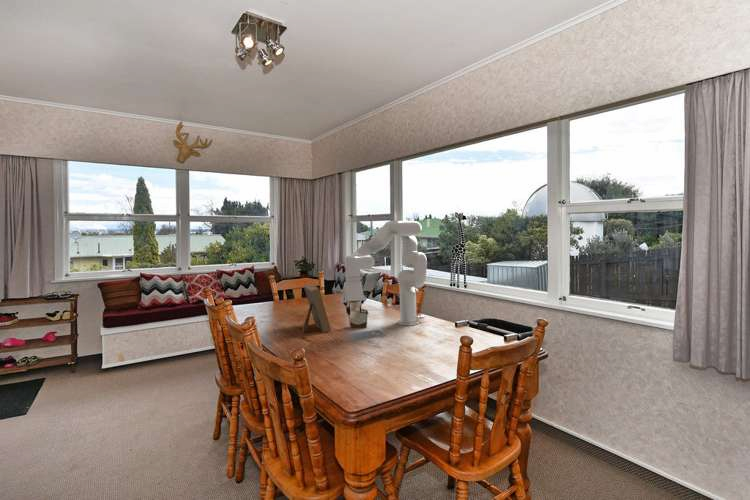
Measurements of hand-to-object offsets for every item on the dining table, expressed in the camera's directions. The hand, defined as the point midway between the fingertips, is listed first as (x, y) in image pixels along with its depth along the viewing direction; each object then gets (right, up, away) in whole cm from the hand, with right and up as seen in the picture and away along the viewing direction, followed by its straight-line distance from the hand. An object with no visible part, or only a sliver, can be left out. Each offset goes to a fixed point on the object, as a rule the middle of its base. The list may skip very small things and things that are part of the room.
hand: (353, 313), depth 202 cm
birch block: (0, -2, 0) cm, 2 cm away
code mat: (+6, -12, +3) cm, 14 cm away
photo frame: (-24, -12, +20) cm, 34 cm away
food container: (+2, -11, +21) cm, 24 cm away
